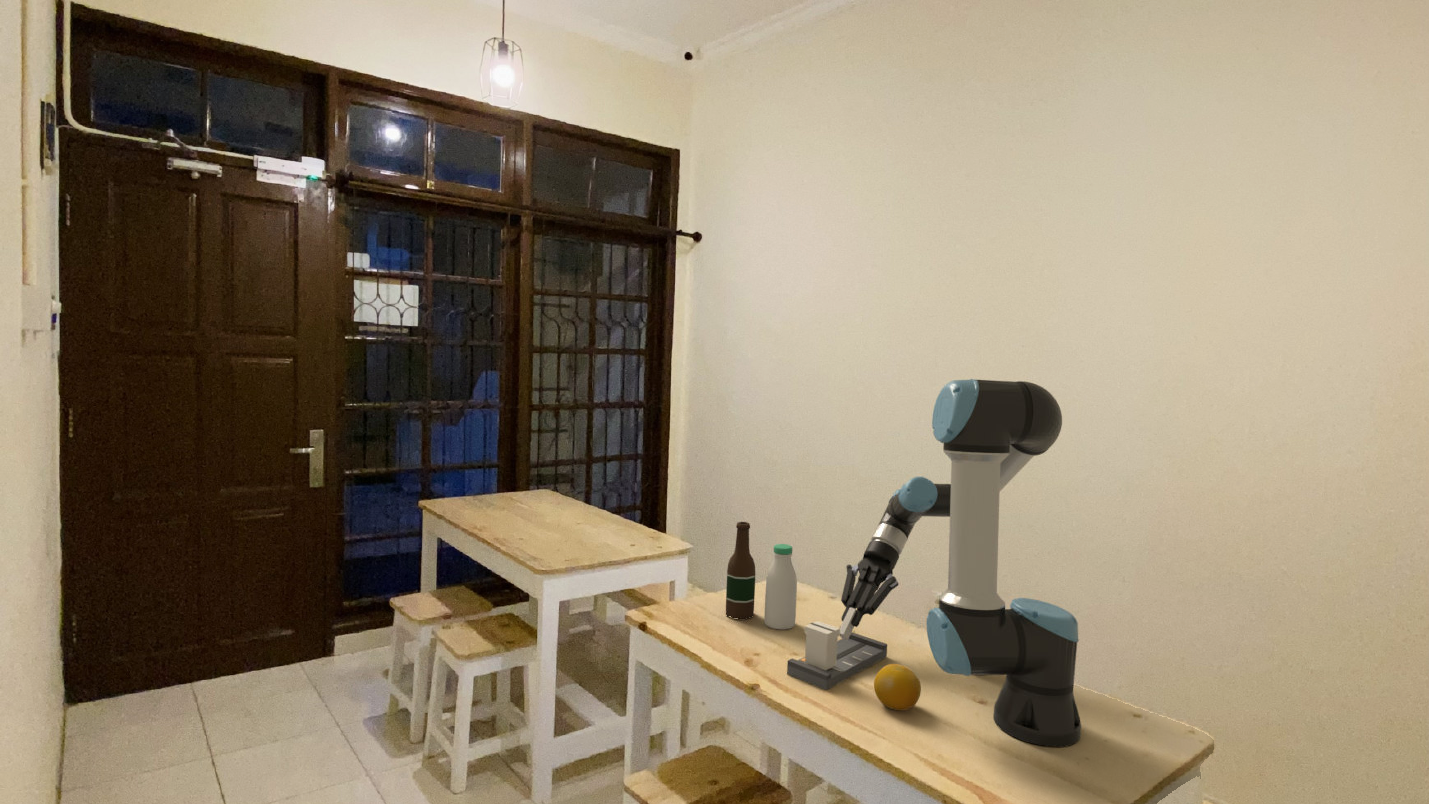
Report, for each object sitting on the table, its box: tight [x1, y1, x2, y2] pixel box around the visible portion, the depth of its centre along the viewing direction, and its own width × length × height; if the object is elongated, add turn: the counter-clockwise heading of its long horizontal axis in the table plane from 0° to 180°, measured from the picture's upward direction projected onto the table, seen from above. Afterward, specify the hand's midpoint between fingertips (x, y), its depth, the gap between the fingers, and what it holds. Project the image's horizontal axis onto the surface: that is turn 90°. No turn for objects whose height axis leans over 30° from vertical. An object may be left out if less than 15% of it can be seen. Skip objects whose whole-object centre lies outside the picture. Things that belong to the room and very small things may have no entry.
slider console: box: [786, 631, 888, 691], centre depth 167 cm, size 24×10×3 cm, turn 137°
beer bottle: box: [725, 521, 756, 620], centre depth 194 cm, size 8×8×24 cm
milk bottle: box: [763, 543, 798, 630], centre depth 189 cm, size 8×8×20 cm
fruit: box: [873, 663, 922, 711], centre depth 149 cm, size 9×8×8 cm
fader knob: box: [803, 620, 840, 671], centre depth 161 cm, size 5×6×8 cm
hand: (842, 636), depth 167 cm, fingers closed
